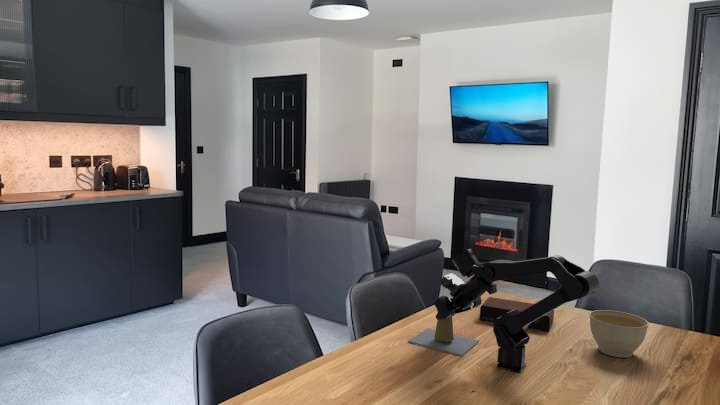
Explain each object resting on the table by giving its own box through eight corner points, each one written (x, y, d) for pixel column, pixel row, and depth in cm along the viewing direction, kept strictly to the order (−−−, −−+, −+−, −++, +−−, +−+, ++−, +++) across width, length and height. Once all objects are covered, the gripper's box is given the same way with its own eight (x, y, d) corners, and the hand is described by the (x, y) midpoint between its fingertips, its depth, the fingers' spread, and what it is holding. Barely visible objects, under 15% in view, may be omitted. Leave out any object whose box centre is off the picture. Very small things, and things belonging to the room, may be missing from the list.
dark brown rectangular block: (479, 321, 188) (480, 304, 187) (486, 311, 198) (487, 296, 197) (549, 333, 177) (550, 316, 177) (553, 322, 188) (554, 306, 187)
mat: (479, 342, 166) (479, 340, 166) (462, 356, 155) (462, 354, 155) (427, 329, 176) (427, 328, 176) (407, 342, 164) (407, 340, 164)
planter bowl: (653, 365, 152) (656, 329, 151) (593, 359, 155) (596, 324, 154) (635, 345, 168) (638, 312, 167) (582, 340, 171) (584, 307, 170)
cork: (447, 343, 161) (448, 307, 160) (430, 337, 165) (432, 303, 164) (457, 338, 165) (459, 304, 164) (441, 333, 169) (442, 299, 168)
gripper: (474, 262, 166) (444, 289, 175) (439, 271, 153) (409, 300, 162) (495, 292, 162) (464, 318, 171) (461, 304, 149) (428, 331, 157)
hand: (441, 316), depth 165 cm, fingers closed on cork, 5 cm apart
